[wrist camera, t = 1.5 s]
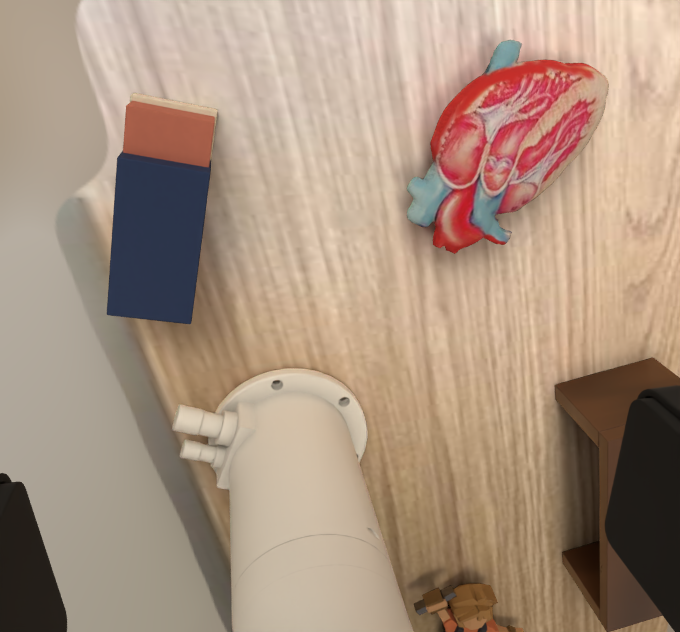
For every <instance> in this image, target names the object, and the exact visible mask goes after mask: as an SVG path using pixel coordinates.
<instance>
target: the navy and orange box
mask: <svg viewBox="0 0 680 632" xmlns="http://www.w3.org/2000/svg"><path fill="white" fill-rule="evenodd" d="M216 119H217V109H213V108H208V107H203V106H197V105H192V104H187V103H182V102H177V101H172V100H167V99H162V98H157V97H152V96H147V95H142V94H137V93H133V94H132V95H131V96H130V103H129V104H128V105H127V106H126V118H125V132H124V146H123V151H122V152H121V154H120V155H119V156H118V158H117V171H116V186H115V201H114V215H113V230H112V245H111V260H110V275H109V290H108V304H107V315H112V316H121V317H130V318H139V319H148V320H157V321H166V322H174V323H183V324H191V321H192V313H193V305H194V297H195V290H196V282H197V274H198V266H199V258H200V250H201V243H202V235H203V227H204V219H205V211H206V204H207V196H208V188H209V180H210V171H211V158H212V150H213V142H214V135H215V127H216Z"/></svg>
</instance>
